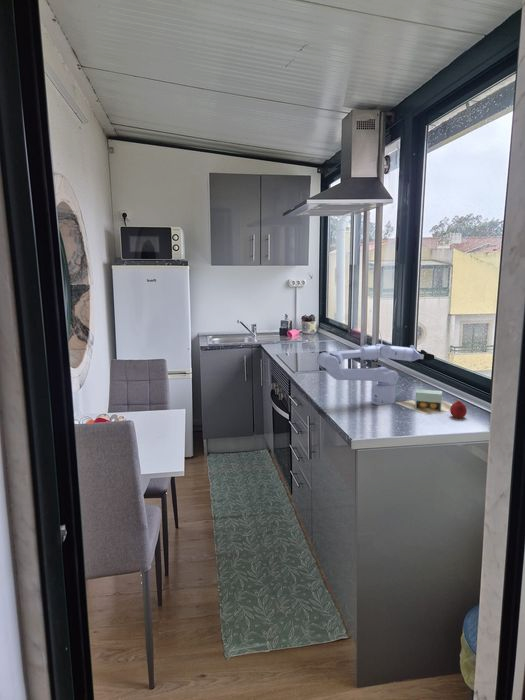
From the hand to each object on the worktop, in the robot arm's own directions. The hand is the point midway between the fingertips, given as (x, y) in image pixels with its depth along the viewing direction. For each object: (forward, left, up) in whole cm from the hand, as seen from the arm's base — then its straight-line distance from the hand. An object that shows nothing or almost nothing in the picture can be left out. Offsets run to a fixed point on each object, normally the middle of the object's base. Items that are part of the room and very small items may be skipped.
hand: (428, 356), depth 200 cm
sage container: (-11, -13, -19) cm, 25 cm away
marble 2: (-9, -14, -17) cm, 24 cm away
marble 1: (-12, -12, -17) cm, 24 cm away
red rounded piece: (-9, -27, -20) cm, 35 cm away
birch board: (-8, -10, -20) cm, 23 cm away
